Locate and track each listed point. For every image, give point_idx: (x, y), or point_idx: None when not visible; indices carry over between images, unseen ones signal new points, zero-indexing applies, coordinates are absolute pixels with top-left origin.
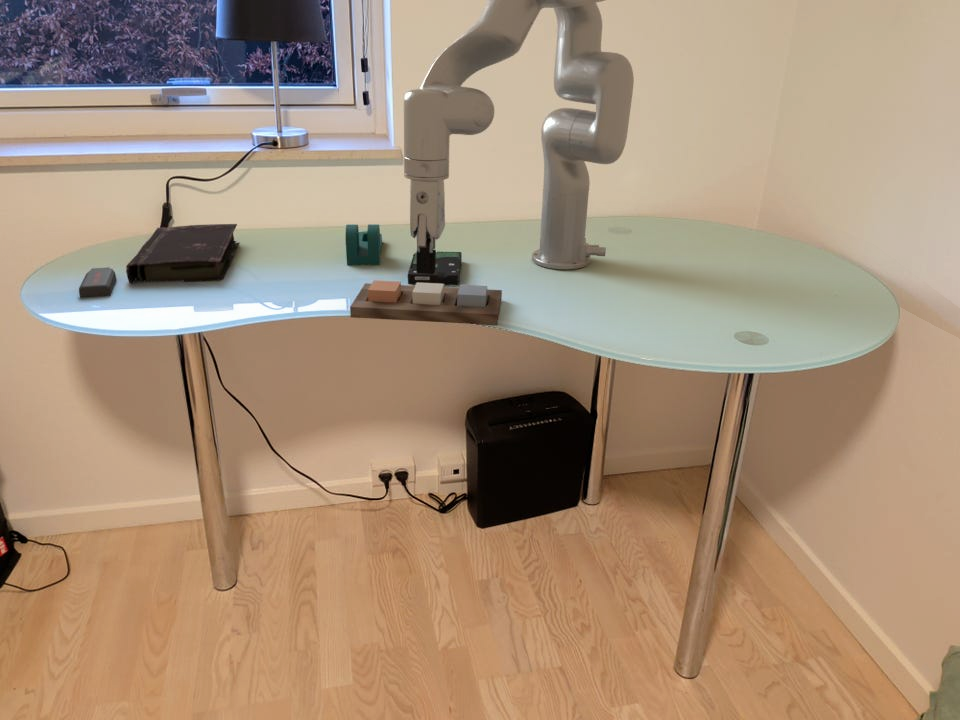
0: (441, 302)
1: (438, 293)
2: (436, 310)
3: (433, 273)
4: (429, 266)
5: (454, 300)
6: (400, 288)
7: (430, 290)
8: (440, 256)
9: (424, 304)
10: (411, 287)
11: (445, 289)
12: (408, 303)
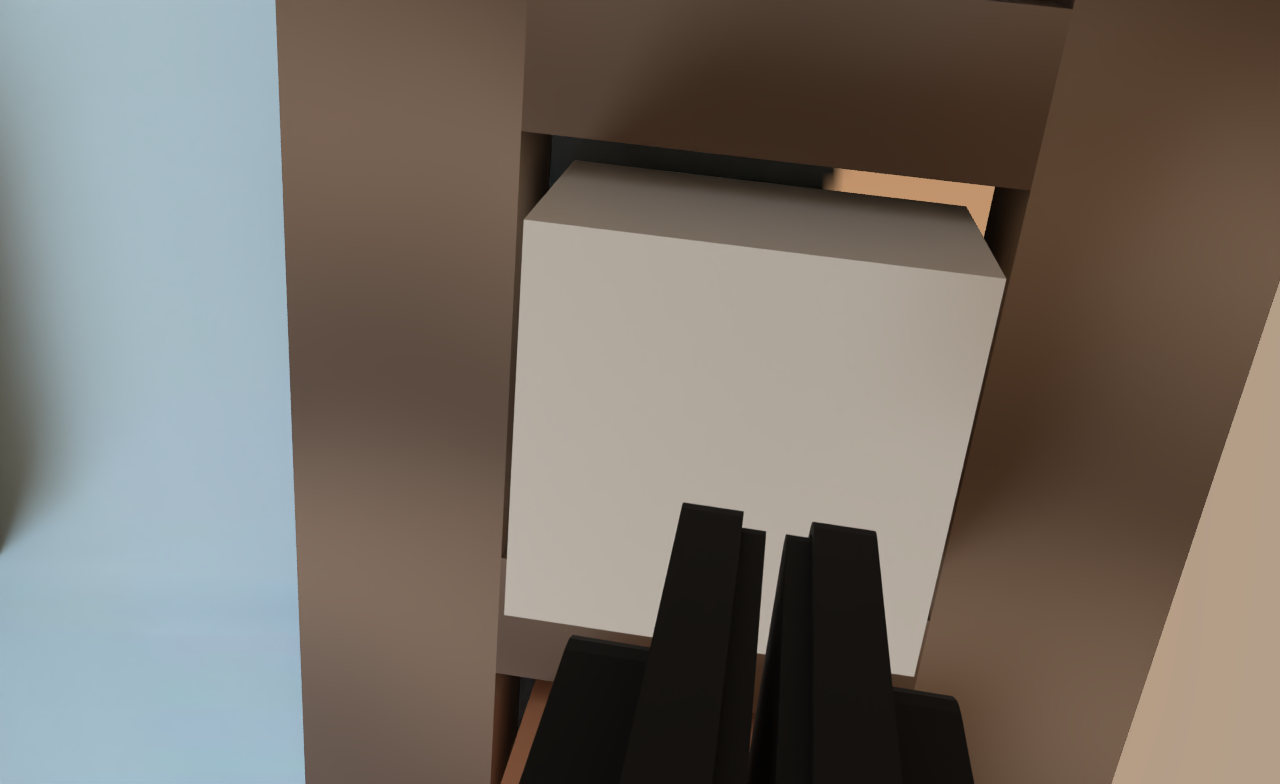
0: (846, 205)
1: (994, 308)
2: (1246, 282)
3: (870, 538)
4: (959, 730)
5: (833, 3)
6: None
7: (848, 432)
8: None
9: (983, 444)
10: (360, 593)
11: (370, 154)
12: (929, 630)
